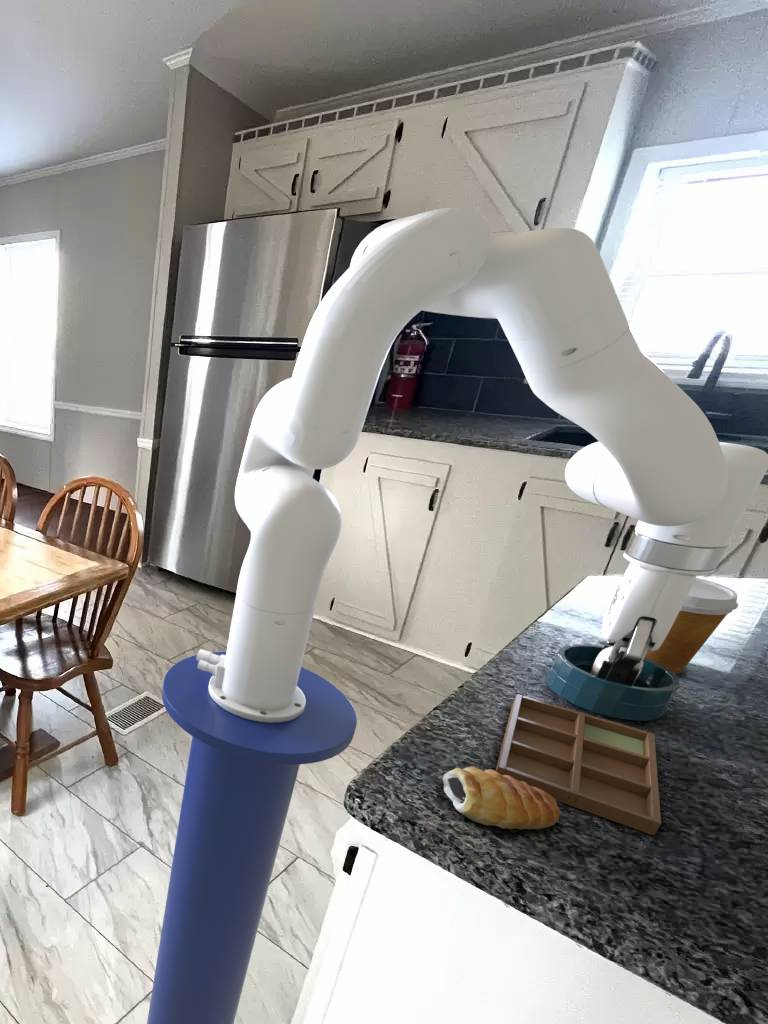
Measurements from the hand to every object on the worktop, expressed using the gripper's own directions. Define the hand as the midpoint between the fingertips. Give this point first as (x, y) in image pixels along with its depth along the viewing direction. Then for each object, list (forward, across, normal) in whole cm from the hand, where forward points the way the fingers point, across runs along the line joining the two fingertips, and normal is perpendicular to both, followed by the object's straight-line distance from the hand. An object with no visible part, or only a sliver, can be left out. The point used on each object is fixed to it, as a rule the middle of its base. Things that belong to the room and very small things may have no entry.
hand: (609, 682), depth 81 cm
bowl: (+2, 0, 0) cm, 2 cm away
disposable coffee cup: (+3, -16, +5) cm, 17 cm away
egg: (+1, 0, 0) cm, 1 cm away
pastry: (+3, +33, -8) cm, 34 cm away
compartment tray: (+2, +18, -2) cm, 18 cm away
